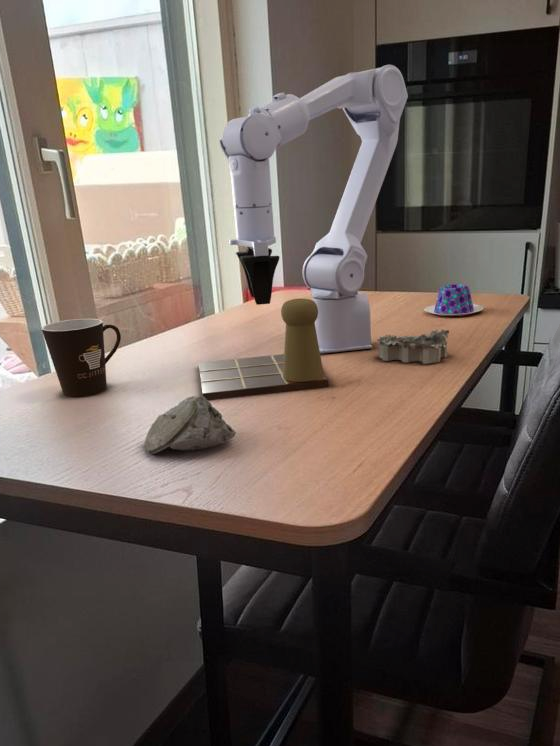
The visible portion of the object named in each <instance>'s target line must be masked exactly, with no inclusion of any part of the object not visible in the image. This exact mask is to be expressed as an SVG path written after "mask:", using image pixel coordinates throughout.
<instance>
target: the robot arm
mask: <svg viewBox="0 0 560 746" xmlns="http://www.w3.org/2000/svg"><path fill="white" fill-rule="evenodd" d="M408 98H409V94H408V89H407V88H406V83H405V80H404V76H403V74H402V72H401V70H400V69H399V68H398V67H396V66H395V65H393V64H386V65H382V66H381V67H377V68H373V69H372V68H371V69H368V70H367V69H366V70H363V71H358V72H357V71H356V72H355V71H352V72H348V73H347V74H344V75H340V76H336V77H333V78H332V79H330V80H329V81H327V82H325V83H324V84H322V85H320V86H318V87H317V88H315V89H313V90H311V91H309V92H308V93H307V94H305V95H303V96H301V97H298V96H297V95H296V94H292V93H287V94H286V93H285V92H279V93H277V94H274V95H273V96H272V99H273V101H271V102H269V103H267V104H264V106H261V107H259V106H253V107H251V108H249V109H248V115H247V116H243V117H237V118H232V119H231V120H229V121H228V122H227V123H226V124H225V126H226V127H225V126H224V128H223V131H222V134H221V135H222V137H221V139H219V142H218V143H219V146H220V149H221V152H222V153H223V155H224V156H225V158H226V159H227V163H228V170H229V171H230V179H231V180H230V181H231V191H232V192H231V193H232V201H233V202H232V203H233V212H234V224H235V237H236V238H231V239H230V238H229V239H228V245H230V246H239V247H245V249H246V250H244V251H237V252H235V255H236V256H237V258H238V260H239V261H240V263H241V266H242V269H243V272H244V276H245V279H246V283H247V287H248V291H249V294H250V297H251V298H253V299H254V302H255V305H256V306H258V305H259V306H261V305H270V304H271V300H272V294H273V284H274V278H275V273H276V269H277V266H278V264H279V261H280V256H279V255H272V253H273V249H272V248H270V247H269V246H271V245H274V244H276V243H277V239H276V238H277V237H276V236H275V225H274V214H273V211H274V210H273V197H272V184H271V183H272V182H271V169H270V168H271V167H270V158H271V157H272V156H273V155H274V153H275V151H276V150H277V149H278V148H280V147H282V146H284V145H285V144H288V143H289V142H291V141H293V140H295V139H297V138H298V137H300V136H302V135H304V134H305V133H306V131H308V127H309V122H310V121H311V120H313V119H315V118H318V117H320V116H322V115H324V114H326V113H328V112H330V111H332V110H335V109H342V110H343V112H344V114H345V116H346V118H347V119H348V121H349V123H350V124H351V126H352V128H353V129H354V131H355V133H356V134H357V136H359V137H360V140H361V144H360V146H359V150H358V153H357V155H356V158H355V160H354V163H353V166H352V168H351V171H350V174H349V177H348V180H347V183H346V186H345V188H344V191H343V194H342V197H341V200H340V202H339V204H338V208H337V210H336V214H335V216H334V219H333V221H332V224H331V227H330V230H329V232H328V233H327V234H325V236H323V237H322V238H321V239H320V240H319V241H317V242H316V243H315V246H314V248H313V251H312V252H311V254H310V255H309V256H308V257H307V258H306V259H305V260H304V263H303V265H302V272H301V273H302V280H303V282H304V284H305V286H306V287H307V288H308V289H310V296H312V300H313V301H314V302H315V303H316V305H317V308H318V316H317V319H316V321H315V328H316V333H317V339H318V345H319V350H320V354H329V353H330V354H331V353H339V352H348V351H359V350H369V349H372V348H373V345H372V330H371V329H372V328H371V306H370V301H369V297H368V294H367V293H361V292H360V293H359V291H360V289H361V287H362V286H363V284H364V279H365V268H366V267H365V266H366V263H367V260H368V258H369V257H368V254H367V252H366V251H365V250H366V249H364V247H363V246H362V244H361V243H362V240H363V238H364V235H365V232H366V229H367V227H368V224H369V222H370V218H371V216H372V212H373V210H374V208H375V206H376V202H377V199H378V197H379V193H380V191H381V188H382V186H383V183H384V181H385V177H386V175H387V172H388V169H389V167H390V163H391V161H392V159H393V155H394V152H395V150H396V147H397V144H398V140H399V131H400V123H401V121H400V120H401V117H402V115H403V111H404V109H405V107H406V104H407V100H408Z"/></svg>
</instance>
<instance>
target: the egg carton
mask: <svg viewBox="0 0 560 746" xmlns="http://www.w3.org/2000/svg"><path fill="white" fill-rule="evenodd" d="M449 335H450V330H449V329H445V330H444V329H440V330H438V329H437V330H432V331H431V332H430V334H427V333H421V334H420V335H403V336H399V337H397V335H392V334H385V335H384V336H379V337H378V338H376V340H377V341H378V345H377V347H378V358H379V359H381V360H382V361H384V362H390V361H393V360H394V361H395V360H396V361H397V360H398V361H401V362H402V363H413V362H421V363H422V364H423V365H428V364H437V363H439V362H441V358H447V356H448V340H447V338H448V337H449Z"/></svg>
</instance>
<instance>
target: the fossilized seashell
mask: <svg viewBox="0 0 560 746" xmlns="http://www.w3.org/2000/svg"><path fill="white" fill-rule="evenodd" d="M236 433H237V432H236V430H234V429H233V428H232V426H231V425H230V424H228V423H227V422H226V421H225V420H224V419H223V415H222V413H220V411H219V410H217V408H215V407H214V406H213V405H212V403H211V402H209V400H207V399H206V398H205V397H203V396H195V395H193V396H188V397H186V398H185V399H183V400H181V401H180V402H178V404H177V405H175V406H173V407H172V408H170V409H169V410H167V411H165V412H164V413H162V414H159V415H158V416H157V418H156V419H155V420H154V422H153V423H152V424H151V426H150V428H149V430H148V432H147V434H146V437H145V440H144V444H143V446H144V449H145V451H147V452H148V454H151V455H152V454H157V453H159V452H162V451H164V450H166V449H167V448H171V449H172V450H179V451H196V450H203V449H208V448H212V447H216V446H217V445H218V446H219V445H221V444H223V443H225V442H228V441H229V440H232V439H233V438H234V437H235V436H236Z"/></svg>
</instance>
